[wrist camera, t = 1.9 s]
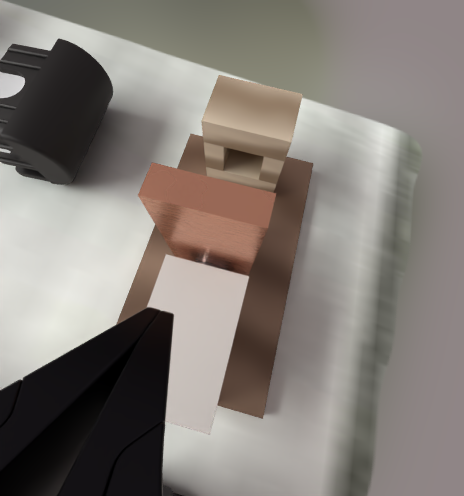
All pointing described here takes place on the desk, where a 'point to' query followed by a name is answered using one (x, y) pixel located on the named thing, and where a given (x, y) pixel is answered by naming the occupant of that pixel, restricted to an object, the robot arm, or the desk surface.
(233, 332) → the white rectangular block
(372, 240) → the desk surface
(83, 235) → the desk surface
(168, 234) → the brushed copper slab
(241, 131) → the socket block
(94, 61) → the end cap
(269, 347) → the base board
